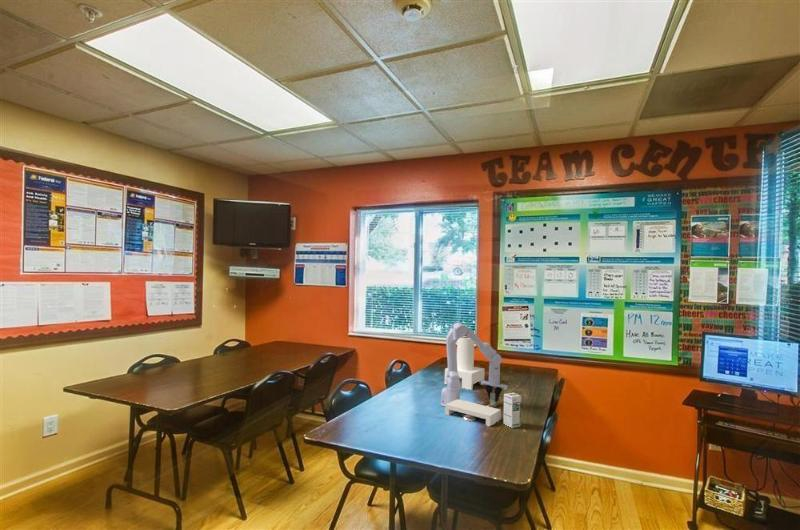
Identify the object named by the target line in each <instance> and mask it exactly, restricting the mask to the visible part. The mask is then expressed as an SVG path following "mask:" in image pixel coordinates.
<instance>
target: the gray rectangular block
mask: <svg viewBox="0 0 800 530" xmlns="http://www.w3.org/2000/svg"><path fill="white" fill-rule="evenodd" d="M486 406H488V407H492V408H495V407H496V408H497V407H498V401H497V402H496V401H495V391H492V392H490V400H489V404H487V405H486Z"/></svg>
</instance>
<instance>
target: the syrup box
mask: <svg viewBox="0 0 800 530" xmlns="http://www.w3.org/2000/svg"><path fill="white" fill-rule="evenodd" d="M504 424H505V426H506V425H507V427H508V426H509V427H508V428H510V427H511V428H510V429H513V428H518V427H519V428H520V427H521V426H522V425H521V424H522V395H521V394H518V393H516V392H509V393H504V394H503V425H504Z"/></svg>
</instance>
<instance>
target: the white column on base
mask: <svg viewBox="0 0 800 530" xmlns="http://www.w3.org/2000/svg"><path fill="white" fill-rule="evenodd" d="M456 354H457V371H458V375H459V380H461V389H464V388H465V389H464V390H469V389H470V390H469V391H472V390H474V389H473V388H474V384H476V383H477V382H479V383H477V384H481V381H485V368H484V367H483V368H482V367H478V366H474V365H475V364H474V362H475V342H474V341H473V340H471V339H470V338H469V337H466V336H463V337H461V338H459V339H458V340H457V341H456ZM447 372H448V367H446V368H445V369H444V385H445V384H447V383H446V377H447Z"/></svg>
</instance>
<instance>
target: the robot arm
mask: <svg viewBox="0 0 800 530" xmlns="http://www.w3.org/2000/svg"><path fill="white" fill-rule="evenodd" d="M463 336H466V337H469V338H470V339H471V340H473V341H474V344H475V345H477V346H478V350H479V352H480V353H481V354H482V355H483V356H485V358H487V360H488V361H489V363H488V364H489V366H488V380H484V381H481V383H480V386H481V385H482V386H484V388H485V390H486V394H487V396H488V400H489V401H490V392H493V388H494V392H495V401H496V402H497V403H498V401H499V398H500V396H501V392H502V391H503V390H505V391H507V390H508V385H506V384H504V383H501V381H500V378H501V377H500V375H501V363H502V362H503V359H502V356H501V354H499V353H497V350H496V349H494V348H493V347H492V346H491V344H490V343H487V342H483V341H482V340H481V338H480V337H479V336H478V335H477V334H476V333H475V331H474V330H472V329H471V328H469V327H468V326H467V325H466V324H463V323H461V322H459V321H458V322H457V321H456V322H454V323H452V325H451V326H450V329H449V331H448V333H447V335H446V337H445V340H446V341H445V342H446V344H445V345H446V357H447V359H446V360H447V368H448V372H447V377H446V383H447V385H446V386H445V387H443V388H442V389H441V393H440V404H439V405H440V406H442V407H446V404H447V403H450V402H452V401H454V400H457V399H459V400H461V399H460V397H461V395H460V394H461V389H462V380H461V379H459V375H458V371H457V340H458V339H459V338H461V337H463Z"/></svg>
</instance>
